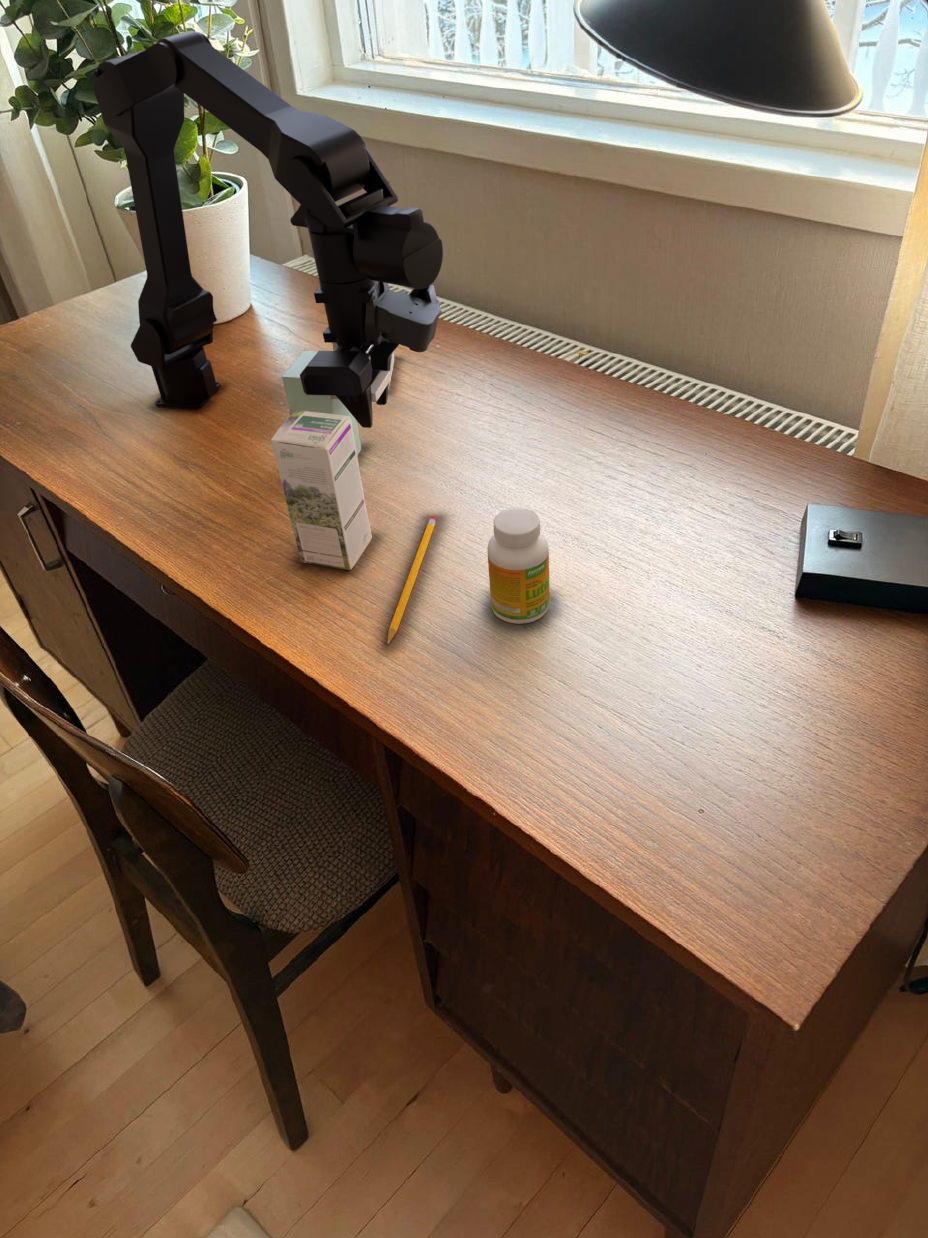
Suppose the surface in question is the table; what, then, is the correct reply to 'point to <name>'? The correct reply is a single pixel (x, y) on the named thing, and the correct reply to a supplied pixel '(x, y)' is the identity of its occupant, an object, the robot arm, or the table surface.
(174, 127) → the robot arm
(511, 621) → the supplement bottle
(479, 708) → the table surface
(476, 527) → the table surface
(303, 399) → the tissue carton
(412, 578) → the pencil
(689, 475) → the table surface
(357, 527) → the syrup box
